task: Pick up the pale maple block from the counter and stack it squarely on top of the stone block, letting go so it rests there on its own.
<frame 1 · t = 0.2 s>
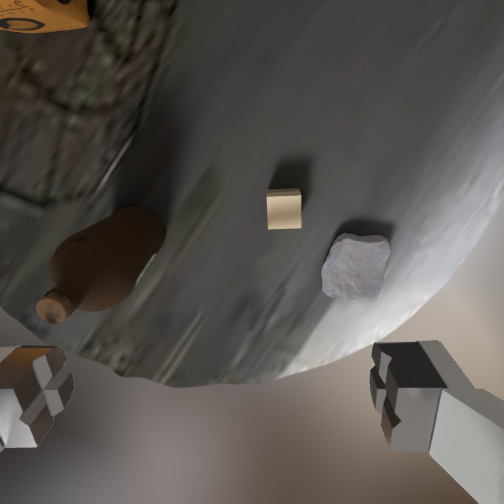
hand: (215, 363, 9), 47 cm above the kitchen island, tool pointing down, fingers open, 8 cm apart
maple block: (283, 204, 55), on the kitchen island
olive oil: (138, 232, 59), on the kitchen island
stone block: (349, 263, 59), on the kitchen island
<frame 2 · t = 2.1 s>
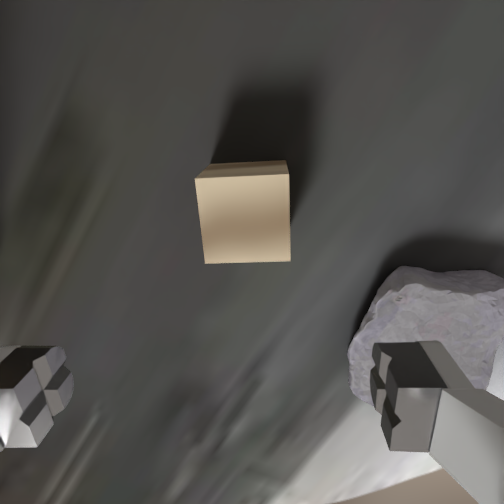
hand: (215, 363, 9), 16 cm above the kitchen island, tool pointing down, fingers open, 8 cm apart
maple block: (249, 198, 24), on the kitchen island
stone block: (407, 327, 27), on the kitchen island
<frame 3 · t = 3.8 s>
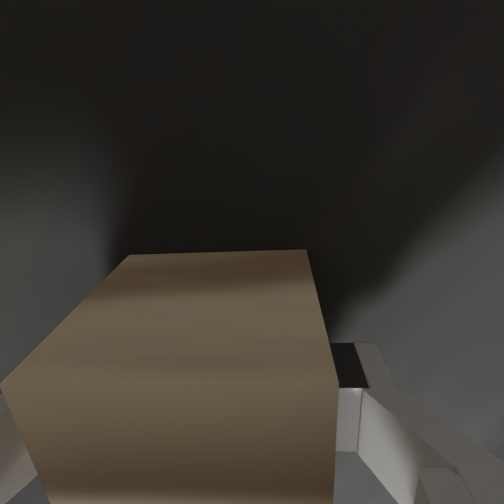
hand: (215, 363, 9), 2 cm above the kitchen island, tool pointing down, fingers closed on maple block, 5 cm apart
maple block: (223, 327, 10), on the kitchen island, touching gripper
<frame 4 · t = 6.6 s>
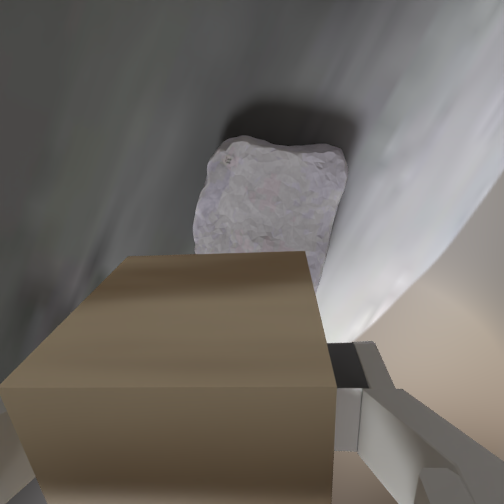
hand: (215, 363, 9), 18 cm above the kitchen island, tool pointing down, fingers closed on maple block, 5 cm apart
maple block: (222, 328, 10), point 17 cm above the kitchen island, touching gripper
stone block: (262, 213, 27), on the kitchen island
when the fingers open (6 cm above the kitchen island, at t = 9.2 s): maple block stays where it is, resting on stone block.
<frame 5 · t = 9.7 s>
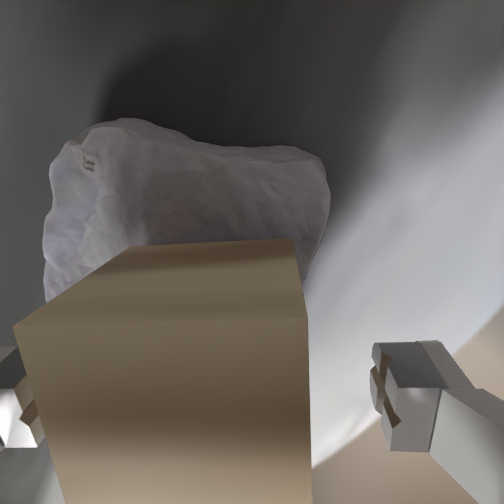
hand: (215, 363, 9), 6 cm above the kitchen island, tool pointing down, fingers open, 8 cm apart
maple block: (217, 316, 11), point 4 cm above the kitchen island, tilted 5°, touching stone block
stone block: (181, 261, 15), on the kitchen island, touching maple block
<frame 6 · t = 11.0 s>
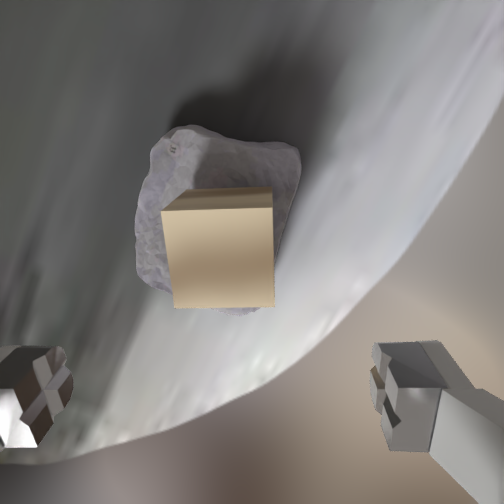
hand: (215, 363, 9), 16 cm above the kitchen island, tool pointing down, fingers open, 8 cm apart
maple block: (231, 229, 21), point 4 cm above the kitchen island, touching stone block
stone block: (214, 213, 25), on the kitchen island, touching maple block
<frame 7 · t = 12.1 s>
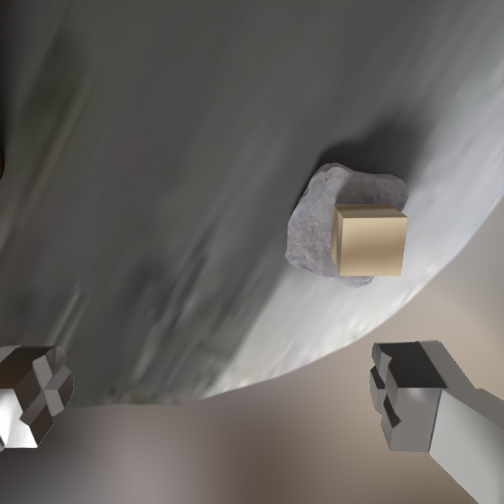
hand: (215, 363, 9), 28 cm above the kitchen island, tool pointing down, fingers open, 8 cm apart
maple block: (358, 229, 32), point 3 cm above the kitchen island, touching stone block
stone block: (335, 219, 37), on the kitchen island, touching maple block
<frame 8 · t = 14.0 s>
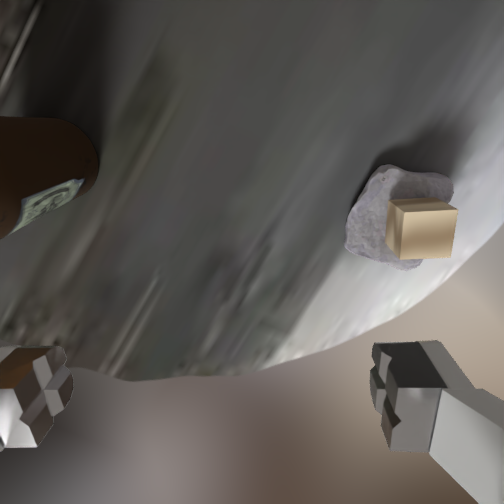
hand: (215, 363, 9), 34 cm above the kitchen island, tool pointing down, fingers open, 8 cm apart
maple block: (409, 220, 38), point 3 cm above the kitchen island, touching stone block
olive oil: (62, 159, 42), on the kitchen island
stone block: (385, 212, 42), on the kitchen island, touching maple block
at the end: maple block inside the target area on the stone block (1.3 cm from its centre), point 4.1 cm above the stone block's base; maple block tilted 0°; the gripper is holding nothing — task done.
